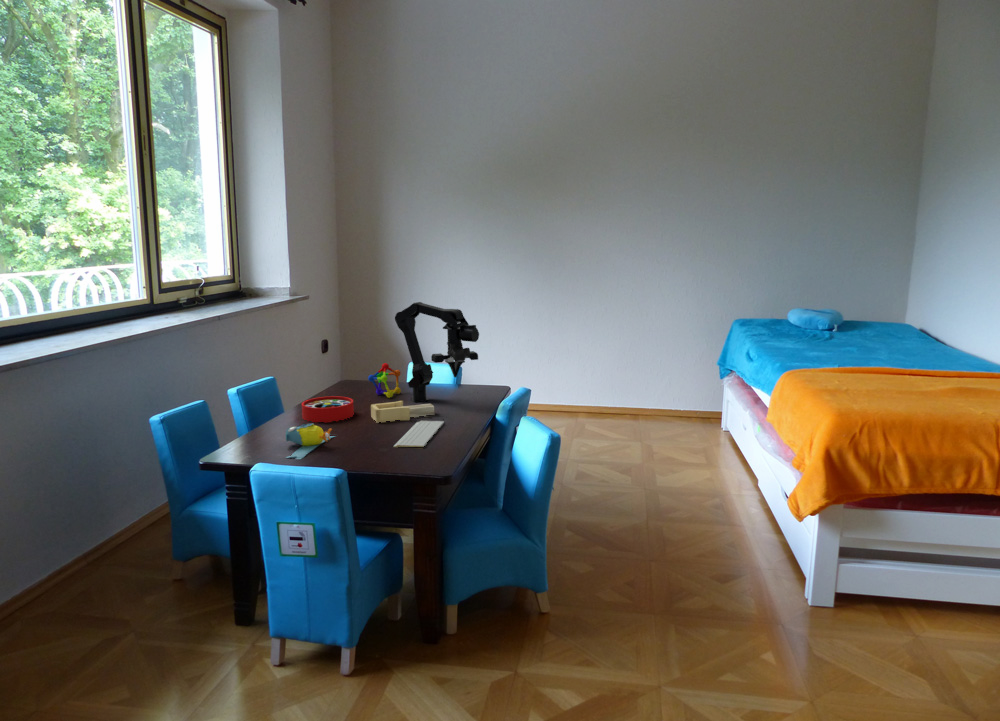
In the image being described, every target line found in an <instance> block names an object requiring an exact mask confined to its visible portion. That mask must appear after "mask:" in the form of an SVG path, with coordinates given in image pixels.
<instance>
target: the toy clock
mask: <svg viewBox="0 0 1000 721" xmlns="http://www.w3.org/2000/svg"><path fill="white" fill-rule="evenodd" d="M354 408H355V406H354V399H352V398H350V397H346V396H336V395H333V396H329V395H328V396H321V397H314V398H313V397H312V398H309V399H307V400H304V401H303V402H301V416H302V417H301V418H302V420H303V419H304V420H303V421H305V420H307V421H306V422H309V421H312V422H311V423H318V422H324V423H333V422H332V421H336V422H340V421H339V420H342V421H345V420H344V419H346V420H348V419H347V418H349V419H351V418H352V417H354V416H355V410H354ZM353 415H354V416H353ZM350 417H351V418H350Z"/></svg>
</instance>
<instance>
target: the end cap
mask: <svg viewBox="0 0 1000 721" xmlns="http://www.w3.org/2000/svg"><path fill="white" fill-rule="evenodd" d="M402 406H404V400H398V401H397V400H396V401H392V402H382V403H372V404H370V416H371V419H373V421H374V420H375V421H376V422H375V421H374V422H375V423H376V424H379V422H381V423H387V422H386V421H390V422H396V421H395V420H400V421H410V420H411V418H410V408H409V407H402ZM392 407H394V408H392ZM382 408H384V409H382Z"/></svg>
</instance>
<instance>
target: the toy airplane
mask: <svg viewBox="0 0 1000 721" xmlns="http://www.w3.org/2000/svg"><path fill="white" fill-rule="evenodd" d="M332 430H333V428H328V429H327V430H325V431H324V430H323V428H322V427H321V426H319V425H315V424H314V422H309V423H304V424H301V425H295V426H291V427H290V428H289V427H288V428H287V429H286V432H285V434H284V435H285V440H286V442H291V443H293V444H294V443H295V444H297V445H299V446H300V447H299V448H298V449H296V451H294V452H292V455H291V454H290V455H291V456H290V455H288V456H286V457H285V458H287V459H292V458H295V459H294V460H302V459H304V458H305V457H306V456H307V455H308V454H309V453H310V452H313V451H314V450H315V449H316V448H318V447H319V446H320V445H322V444H323V443H328V442H329V441H331V439H333V438H336V437H337V436H330V435H332V434H331V431H332Z"/></svg>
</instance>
